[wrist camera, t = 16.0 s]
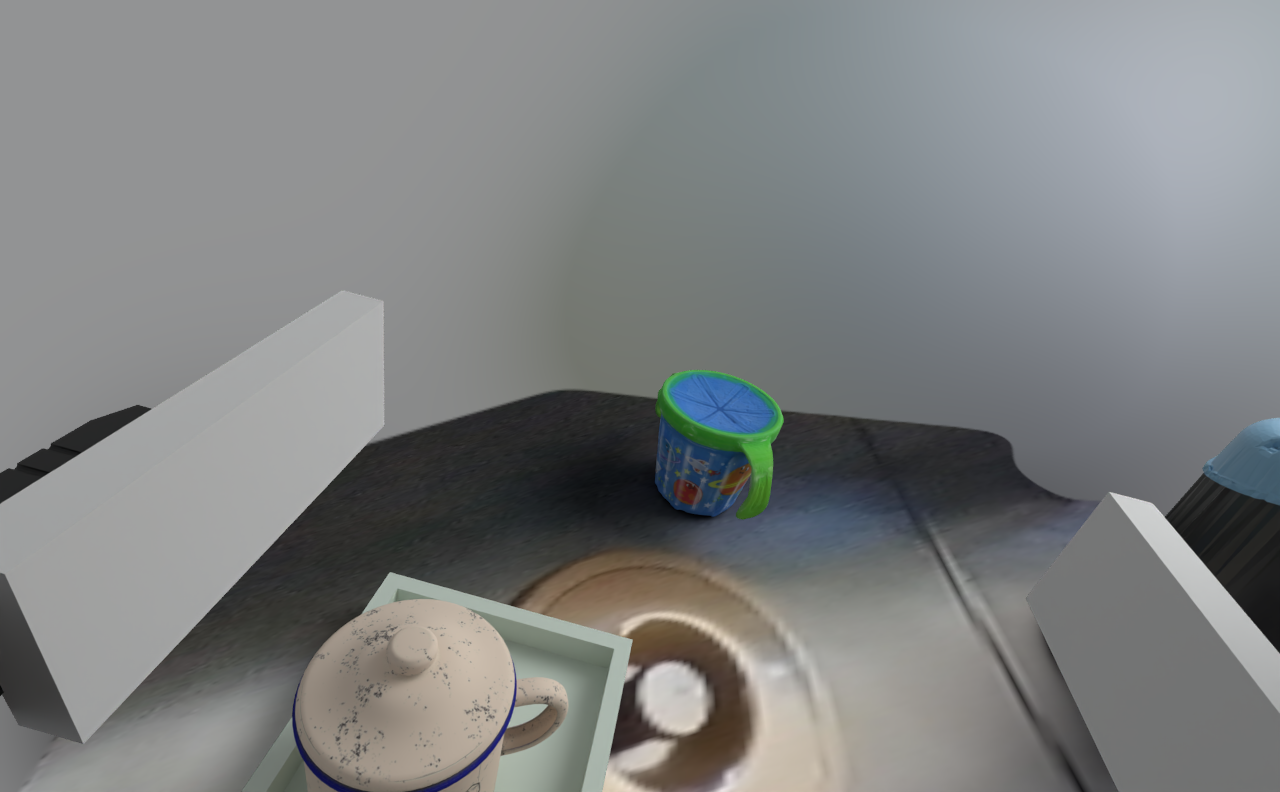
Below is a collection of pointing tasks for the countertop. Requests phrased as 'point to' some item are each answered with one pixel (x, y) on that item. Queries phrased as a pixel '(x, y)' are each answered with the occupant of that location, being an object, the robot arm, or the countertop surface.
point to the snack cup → (715, 443)
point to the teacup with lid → (416, 703)
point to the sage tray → (540, 647)
